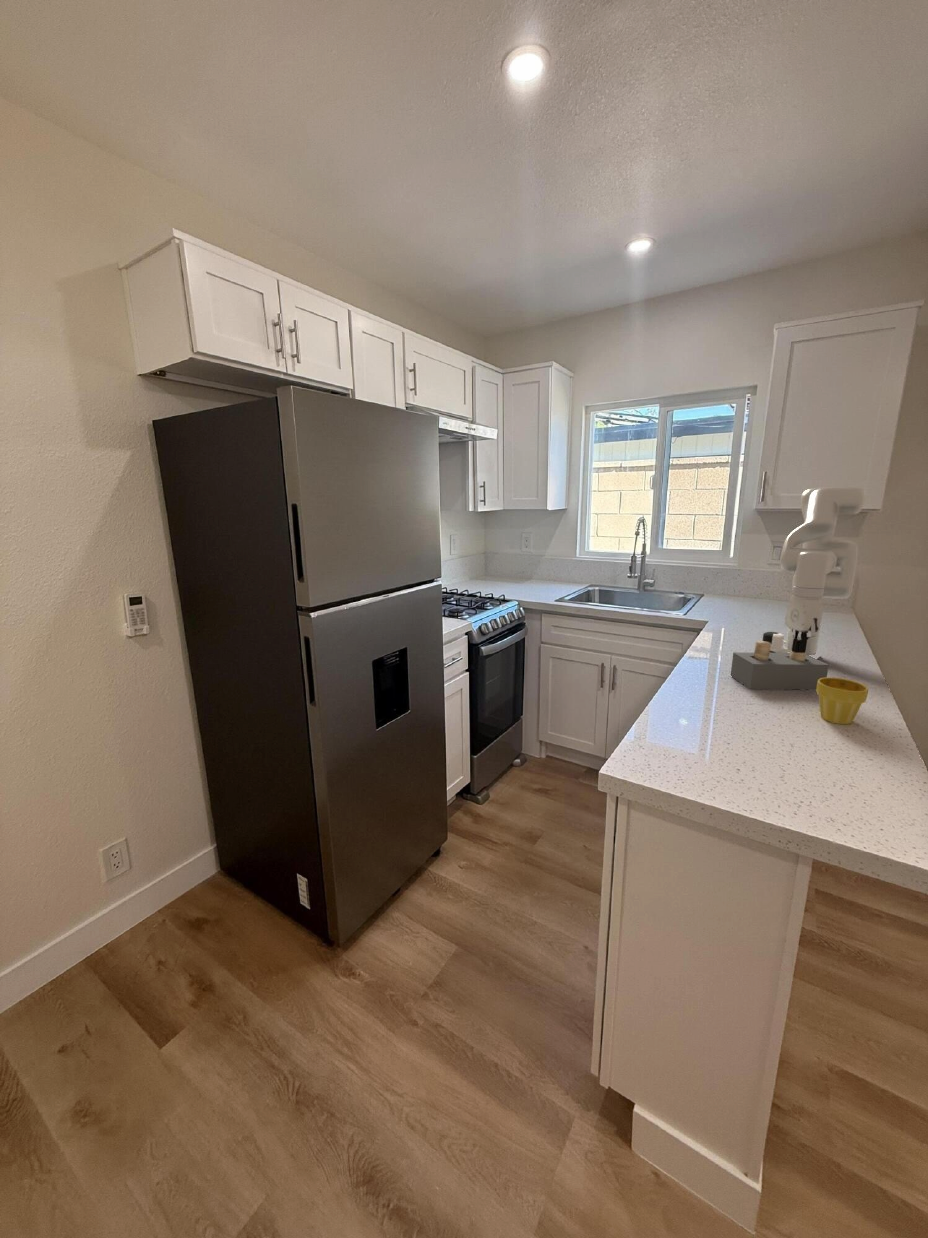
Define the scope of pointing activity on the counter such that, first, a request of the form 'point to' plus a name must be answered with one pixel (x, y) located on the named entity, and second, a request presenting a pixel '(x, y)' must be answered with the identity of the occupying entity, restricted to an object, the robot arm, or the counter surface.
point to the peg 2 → (797, 656)
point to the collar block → (777, 671)
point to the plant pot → (840, 699)
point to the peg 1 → (762, 650)
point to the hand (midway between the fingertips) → (798, 651)
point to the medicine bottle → (775, 642)
